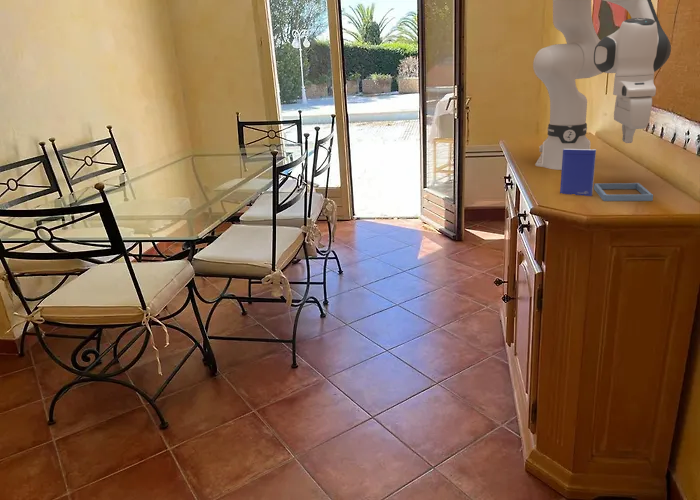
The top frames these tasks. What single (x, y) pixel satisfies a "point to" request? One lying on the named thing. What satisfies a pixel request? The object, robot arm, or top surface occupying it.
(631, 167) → the top surface
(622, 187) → the frame
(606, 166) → the top surface
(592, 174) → the hard drive
